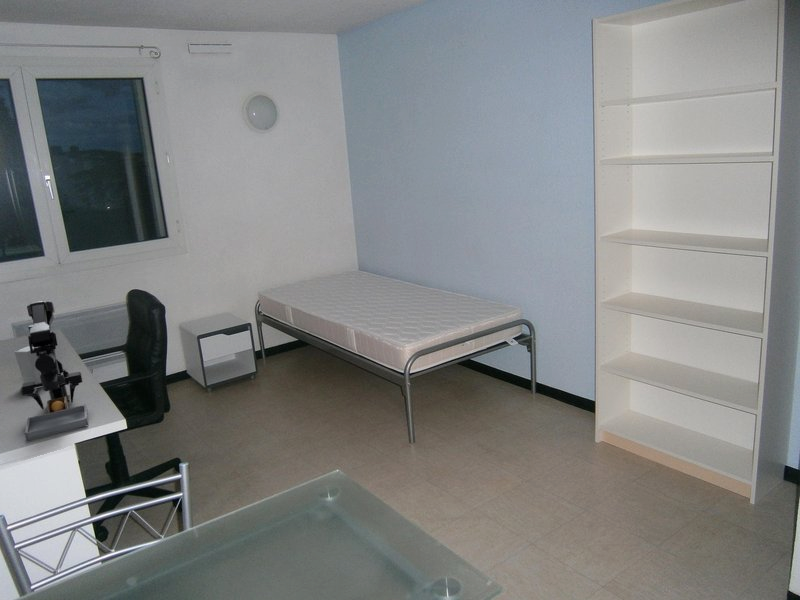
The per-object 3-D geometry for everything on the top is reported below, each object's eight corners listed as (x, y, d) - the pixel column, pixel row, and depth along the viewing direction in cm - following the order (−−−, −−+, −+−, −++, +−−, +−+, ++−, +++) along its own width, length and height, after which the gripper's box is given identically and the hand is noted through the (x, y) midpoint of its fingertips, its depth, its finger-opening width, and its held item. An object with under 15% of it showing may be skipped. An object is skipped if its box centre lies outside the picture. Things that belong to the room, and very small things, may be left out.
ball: (52, 409, 220) (49, 400, 218) (64, 406, 221) (62, 397, 220) (52, 415, 217) (50, 406, 215) (65, 412, 218) (63, 403, 216)
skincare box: (51, 382, 255) (43, 345, 251) (35, 388, 248) (26, 351, 245) (38, 380, 258) (29, 344, 255) (22, 387, 252) (13, 350, 248)
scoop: (50, 412, 221) (47, 400, 220) (68, 407, 223) (66, 396, 222) (49, 418, 214) (46, 406, 213) (68, 414, 217) (65, 402, 216)
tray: (29, 424, 211) (27, 418, 210) (87, 411, 218) (86, 404, 218) (26, 440, 197) (24, 433, 197) (88, 425, 205) (86, 418, 205)
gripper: (15, 377, 204) (26, 420, 208) (77, 364, 212) (87, 406, 216) (18, 368, 214) (28, 409, 217) (77, 356, 222) (86, 396, 225)
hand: (57, 405), depth 219 cm, fingers open, 9 cm apart
